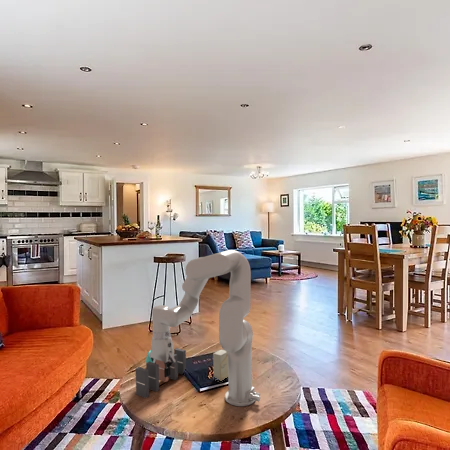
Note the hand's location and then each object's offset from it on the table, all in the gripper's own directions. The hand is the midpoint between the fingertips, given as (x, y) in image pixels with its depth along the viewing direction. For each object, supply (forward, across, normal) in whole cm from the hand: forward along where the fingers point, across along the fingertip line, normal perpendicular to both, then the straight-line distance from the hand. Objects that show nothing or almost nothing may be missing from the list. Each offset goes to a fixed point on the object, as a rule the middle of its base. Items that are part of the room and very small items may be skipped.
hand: (162, 374), depth 153 cm
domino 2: (+4, 0, +6) cm, 7 cm away
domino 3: (+2, 0, 0) cm, 2 cm away
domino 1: (+4, 0, +12) cm, 13 cm away
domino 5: (+4, 0, -12) cm, 13 cm away
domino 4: (+4, 0, -6) cm, 7 cm away
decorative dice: (+4, +14, -11) cm, 18 cm away
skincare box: (+4, -20, -17) cm, 27 cm away
